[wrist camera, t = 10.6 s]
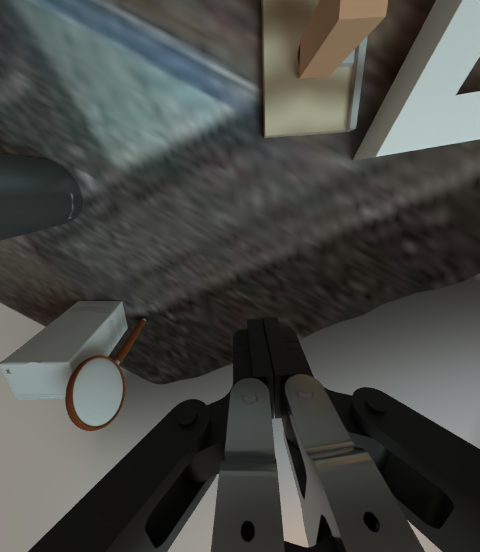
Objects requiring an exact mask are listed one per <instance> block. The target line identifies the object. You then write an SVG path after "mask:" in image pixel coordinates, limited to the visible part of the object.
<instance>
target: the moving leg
mask: <svg viewBox="0 0 480 552" xmlns="http://www.w3.org/2000/svg"><path fill="white" fill-rule="evenodd" d="M387 4H388V0H320V1H319V3H318V5H317V7H316V9H315V11H314V13H313V15H312V17H311V19H310V21H309V23H308V25H307V27H306V29H305V31H304V33H303V35H302V37H301V42H300V71H299V79H305V78H319V77H329V76H330V75H331V74H332V73H333V72H334V71H335V70H336V68H337V67H350V66H351V65H352V64H353V63H354V55H355V48H356V47H357V46H358V45H359V44H360V43H361V42H362V41H363V40H364V39H365V38H366V37H367V36H368V35H369V34H370V32H371V31H372V30H373V29H374V28H375V27H376V26H377V25H378V24H379V23H380V22H381V21H382V20H383V19H384V18H385V17H386V11H387Z"/></svg>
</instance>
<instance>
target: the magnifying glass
mask: <svg viewBox="0 0 480 552" xmlns="http://www.w3.org/2000/svg"><path fill="white" fill-rule="evenodd" d="M145 321H146V319H145V318H142V319H141V320H139V322H138V323H137V325H136V326H135V328H134V329H133V331H132V332H131V334H130V335H129V337H128V338H127V340H126V341H125V343H124V345H123V346H122V348H121V349H120V351H119V352H118V354H117V355H116V357H115V358H114V360H113V359H111V358H109V357H107V356H102V355H98V356H93V357H90V358H88V359H86V360H84V361H83V362H82V363H80V364H79V365H78V366H77V368H76V369H75V370H74V371H73V373H72V375H71V377H70V379H69V381H68V384H67V388H66V396H65V399H66V409H67V412H68V415H69V417H70V419H71V420H72V422H73V423H74V424H75V425H76V426H77V427H79V428H81V429H83V430H86V431H95V430H99V429H102V428H104V427H106V426H107V425H108V424H109V423H111V421H113V420H114V418H115V417H116V416H117V414H118V413H119V411H120V409H121V407H122V404H123V400H124V395H125V381H124V377H123V373H122V371H121V369H120V367H119V365H120V364H121V363H122V361H123V359H124V358H125V356H126V354H127V353H128V351H129V349H130V348H131V346H132V344H133V343H134V341H135V339H136V338H137V336H138V335H139V333H140V331H141V330H142V328H143V326H144V325H145V323H146V322H145Z"/></svg>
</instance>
